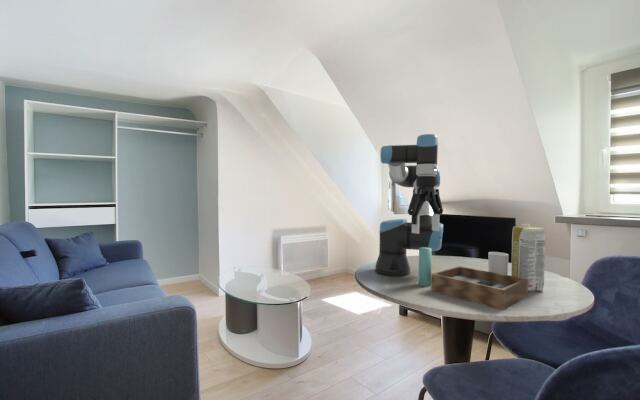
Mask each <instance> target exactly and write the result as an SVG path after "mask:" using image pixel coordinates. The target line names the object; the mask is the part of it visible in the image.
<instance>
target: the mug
mask: <svg viewBox="0 0 640 400" xmlns="http://www.w3.org/2000/svg"><path fill="white" fill-rule="evenodd" d="M487 255H488V258H487V259H488V271H487V272H493V273H498V274H503V275H509V254H508V253H505V252H499V251H489V252H488V254H487Z"/></svg>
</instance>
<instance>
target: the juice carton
mask: <svg viewBox="0 0 640 400" xmlns="http://www.w3.org/2000/svg"><path fill="white" fill-rule="evenodd" d="M545 230H546V229H545V228H544V227H539V226H531V224H530V223H521V226H513V227H512V235H511V236H512V237H511V268H510V269H511V271H510V273H511V275H510V276H514V277H519V278H524V279H528V292H543V291H544V286H545V270H546V269H545V266H546V265H545V261H546V231H545Z"/></svg>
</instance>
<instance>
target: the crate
mask: <svg viewBox="0 0 640 400" xmlns="http://www.w3.org/2000/svg"><path fill="white" fill-rule="evenodd" d="M430 289H431V292H435V293H439V294H441V295H442V294H443V295H447V296H451V297H454V298H459V299H461V300H465V301H468V302H473V303H477V304H480V305H484V306H487V307H490V308H495V309H498V310H502V311H504V310H506V309H508V308H510V307H512V306H513V304H514V305H515V304H517V303H520V302H521V301H523V300H524V299H526V298H528V295H529V293H528V292H529V291H528V279H524V278H519V277H514V276H511V275H509V274H508V275H503V274H498V273H493V272H488V271H486V270H482V269H476V268H471V267H465V266H462V265H461V266H460V265H459V266H455V267H452V268H451V267H450V268H448V269H444V270H441V271H437V272H433V273H431V286H430Z"/></svg>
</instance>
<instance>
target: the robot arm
mask: <svg viewBox="0 0 640 400" xmlns="http://www.w3.org/2000/svg"><path fill="white" fill-rule="evenodd" d="M438 141H439V137H438V135H436V134H434V133H433V134H432V133H431V134H429V133H425V134H420V135H418V136H417V138H416V144H402V145H401V144H395V145H390V144H389V145H382V146H381V147H380V162H381V163H382V164H385V165H387V166H388V169H389V171H388V175H389V178H390V180H391V181H392V182H393V183H394V184H396V185H398V186H400V187H404V188H413V189H412V197H411V199H410V203H409V206H408V209H407V215H409V216H411V222H408V220H407V218H397V219H388V220H383V221H381V222H380V223H379V232H378V233H379V252H378V257H377V259H376V260H377V261H376V262H375V266H374V267H375V268H374V272H375V273H377V274H379V275H384V276H389V277H390V276H391V277H402V276H403V277H404V276H405V277H406V276H409V275H410V274H411V267H410V263H409V260H408V257H407V250H416V251H419V248H420V247H427V248H432V252H433V251H439V250H441V248H442V243H443V233H444V224H443V223H441V222H440V216H441V215H442V214H443V212H444V209H443V206H442V204H443V203H442V200H441V197H440V196H441V195H440V189H439V187H440V186H441V176H440V175H441V174H440V173H441V172H440V168H439V167H438V155H439V154H438V153H439V152H438V150H439V148H438V147H439V142H438ZM406 164H415V165H406Z"/></svg>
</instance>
